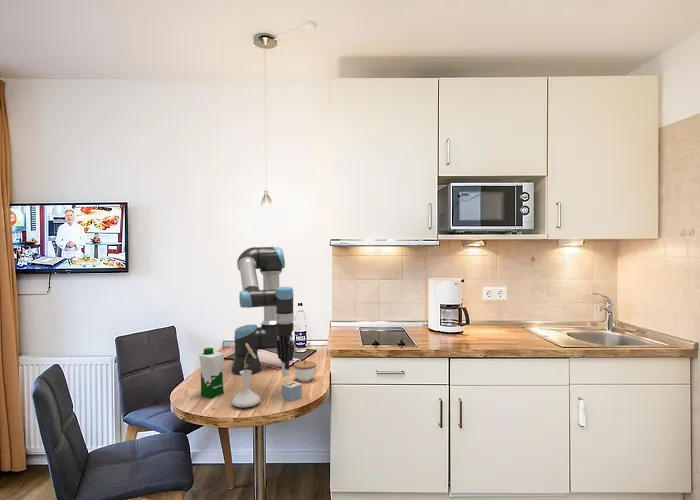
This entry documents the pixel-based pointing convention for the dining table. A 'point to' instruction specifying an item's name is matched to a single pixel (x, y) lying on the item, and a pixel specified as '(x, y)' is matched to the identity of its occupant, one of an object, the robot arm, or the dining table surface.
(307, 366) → the lidded jar
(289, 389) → the block
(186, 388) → the dining table surface
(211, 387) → the milk carton
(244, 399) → the flower in vase
